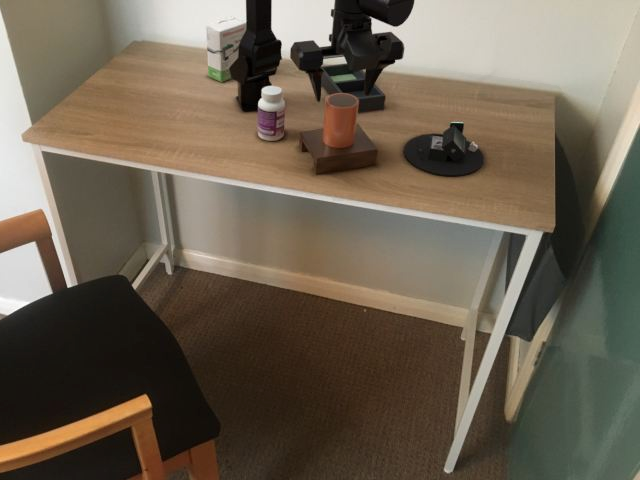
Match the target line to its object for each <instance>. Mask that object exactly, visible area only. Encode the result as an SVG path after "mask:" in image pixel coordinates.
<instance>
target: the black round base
mask: <svg viewBox="0 0 640 480" xmlns="http://www.w3.org/2000/svg"><path fill="white" fill-rule="evenodd" d="M464 129H465V122H462V121H451V122H450V123H449V128H447V129H445V130H444V131H443V132H442V133H427V134H426V133H425V134H420V135H417V136H415V137H413V138H411V139H409V140H408V141H407V142H406V143H405V145H404V147H403V156H404V158H405V160H406V161H407V162H408V163H409V164H410V165H411V166H413V167H414V168H415V169H418V170H420V171H422V172H424V173H427V174H429V175H435V176H440V177H449V178H451V177H453V178H455V177H456V178H457V177H464V176H468V175H471V174H473V173H475V172H477V171H478V170H480V169H481V167H482V166H483V163H484V155H483V152H482V151H481V149H480V148H479V145H478V144H477V143H475V141H472V142H470V141H469V140H467V137H466V135H464Z"/></svg>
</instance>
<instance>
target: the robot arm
mask: <svg viewBox="0 0 640 480" xmlns="http://www.w3.org/2000/svg"><path fill="white" fill-rule="evenodd" d="M272 2H273V1H272V0H245V22H246V31H245V33H244V35H243V37H242V39H241V41H240V43H239V51H238V58H237V59H236V61H235V62H234V63H233V64H232V65H231V66H230V67H229V70H230V74H231V79H232V80H234V81H235V82H237V96H235V100H236V102H237V104H238V105H239V107H240V110H241V111H242V112H251V111H258V102H259V100H260V99H261V98H262V96H261V94H262V89H263V88H264V87H266V86H273V85H272V84H273V83H272V82H271V80H270V77H272V76H275V75H276V74H277V70H278V68H279V67H280V65H281V64H280V63H281V61H282V60H283V56H282V48H283V47H282V46H283V43H282V41H281V39H278V38H277V37H276V35H275V33H274V31H273V29H272V28H273V27H272V14H273V13H272V12H273V11H272V9H273V3H272ZM333 3H334V5H333V8H331V9H330V17H332V28H331V33H329V34H328V41H329V42H330V45H327V46H319V45H318V44H317V43H316V41H315V40H314V39H311V40H302V41H295V42H293V44H292V45H291V47H290V51H289V53H290V54H289V58H290V59H291V61H292V62H293V64H294V65H295V66H296V68H297V70H299V71H301V72H304V73H305V74H306V75H308V78H309V81H310V85H311V88H312V91H313V94H314V97H315V100H316V102H317V103H320V102H321V98H322V85H321V76H322V74H323V72H324V70H323V69H322V68H321V66H324V60H328V59H336V58H344V60H345V62H346V63H347V65H348V68H349V69H350V70H351V71H354V72H356V71H359V70H363V71H364V70H365V71H364V72H365V81H364V94H365V95H366V96H368V95H369V94H370V92H371V90H372V88H373V86H374V84H376V82H377V81H378V78H379V77H380V75H381V74H382V72H383V71H384V69H386V68H387V67H389V66H391V65H394V64H395V63H396V61H400V60H403V58H404V54H405V44H404V42H403V40H401V38H399V37H398V36H396V35H395V34H394V33H393V32H392V31H385V32H375V33H373V30H372V27H373V23H372V20H373V19H374V20H376V21H379V22H381V23H383V24H386V25H389V26H391V27H393V28H397V27H400V26H401V25H403V24H405V22H406V21H407V20H408V18H409V17H410V15H411V14H412V11H413V9H414V5H415V0H334V2H333Z"/></svg>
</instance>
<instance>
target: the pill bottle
mask: <svg viewBox="0 0 640 480" xmlns="http://www.w3.org/2000/svg"><path fill="white" fill-rule="evenodd" d="M261 96H262V98H261V99H260V100H259V102H258V110H257V135H258V137H259V138H260V139H262V140H264V141H268V142H275V141H278V140H281V139H282V138H283V137H284V135H285V121H286V102H285V100H284V99H283V89H282V88H281V87H280V86H277V85H272V86H266V87H264V88H263V89H262V94H261Z"/></svg>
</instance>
